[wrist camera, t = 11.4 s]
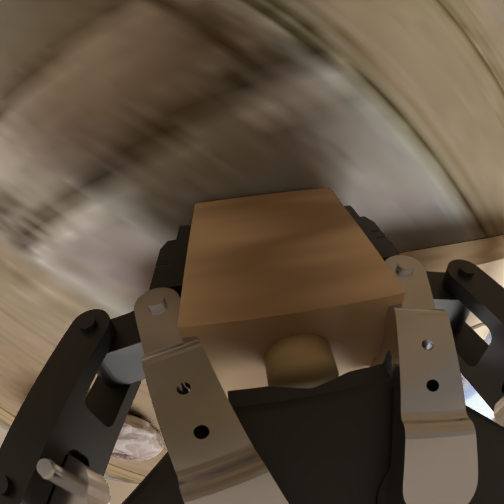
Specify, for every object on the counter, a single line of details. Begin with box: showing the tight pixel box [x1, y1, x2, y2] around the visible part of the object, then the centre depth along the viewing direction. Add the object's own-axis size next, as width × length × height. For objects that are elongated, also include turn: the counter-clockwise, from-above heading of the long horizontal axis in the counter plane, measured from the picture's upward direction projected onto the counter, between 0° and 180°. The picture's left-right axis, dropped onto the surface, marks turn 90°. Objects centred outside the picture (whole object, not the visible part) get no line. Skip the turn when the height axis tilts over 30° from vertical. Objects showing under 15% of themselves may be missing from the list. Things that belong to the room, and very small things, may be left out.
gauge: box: [177, 188, 406, 396], centre depth 11 cm, size 5×9×7 cm, turn 6°
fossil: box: [110, 414, 164, 461], centre depth 20 cm, size 12×4×10 cm
